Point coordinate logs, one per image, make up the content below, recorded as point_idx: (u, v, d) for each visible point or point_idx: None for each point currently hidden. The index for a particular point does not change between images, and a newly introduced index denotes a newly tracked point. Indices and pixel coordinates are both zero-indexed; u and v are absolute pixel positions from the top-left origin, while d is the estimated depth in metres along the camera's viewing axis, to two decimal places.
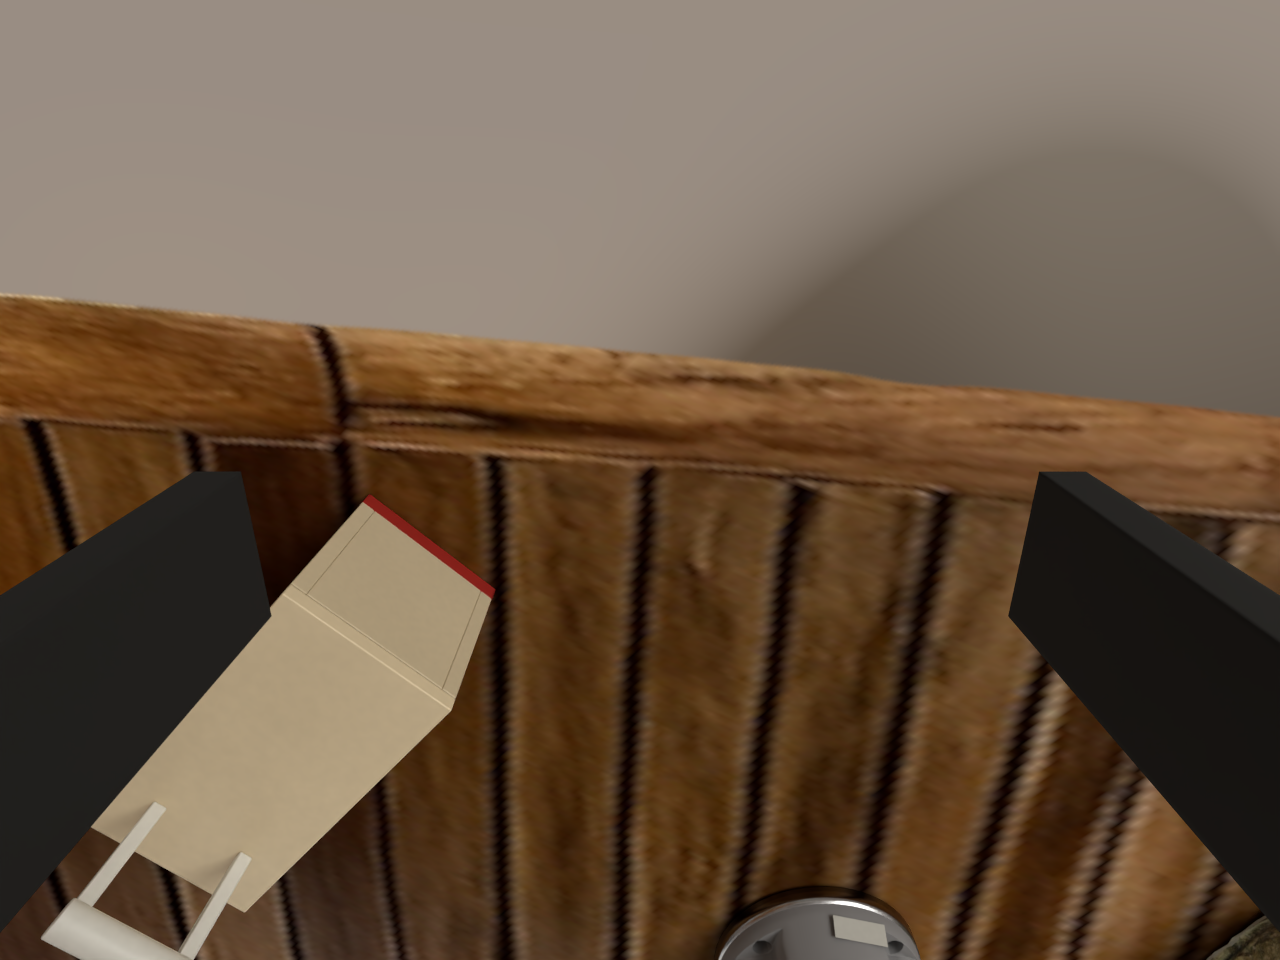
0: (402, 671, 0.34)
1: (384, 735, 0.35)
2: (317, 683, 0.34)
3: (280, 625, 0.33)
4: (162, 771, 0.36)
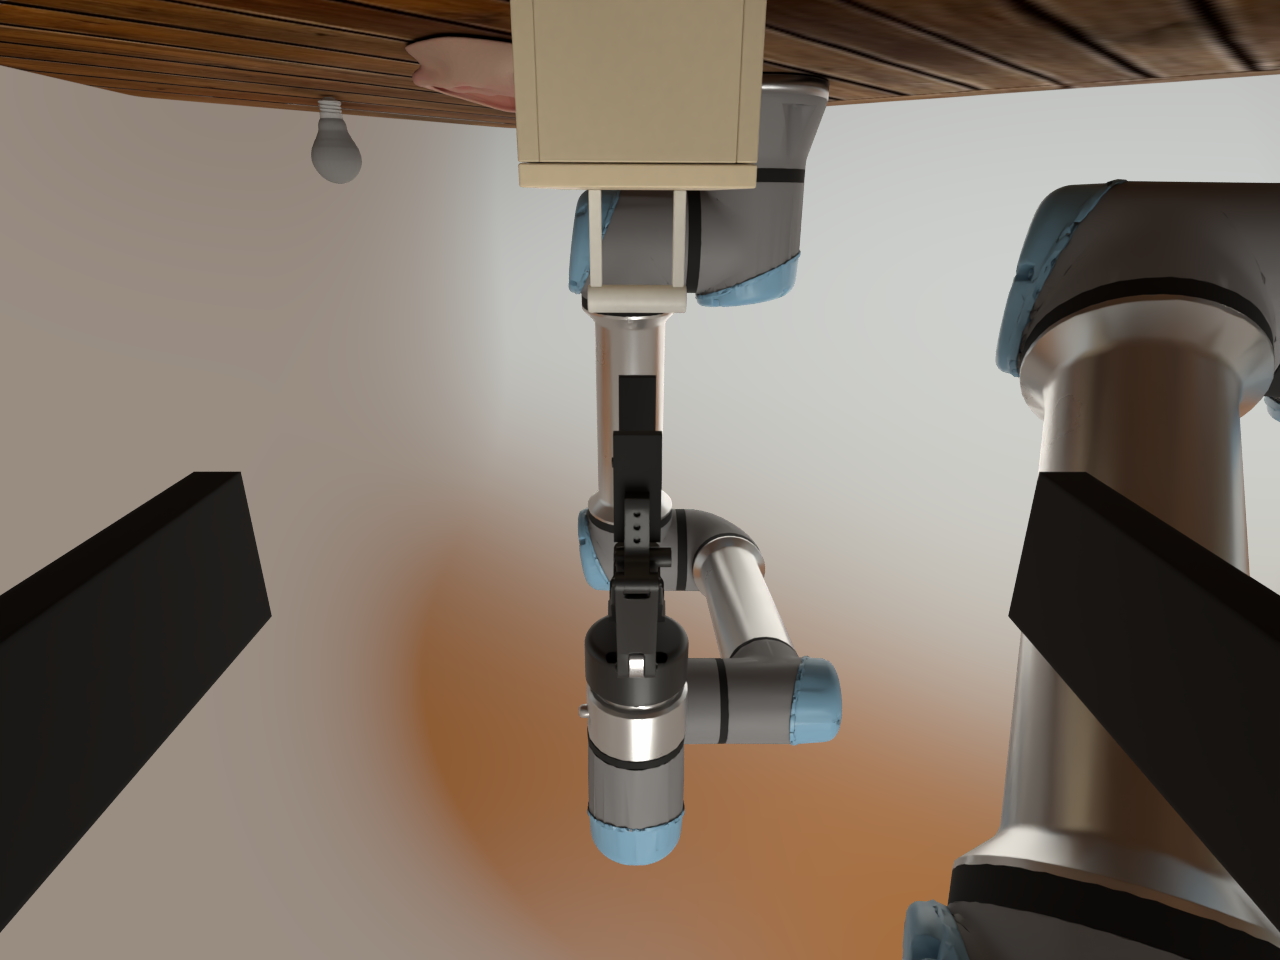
0: (681, 179, 0.29)
1: None
2: None
3: None
4: None
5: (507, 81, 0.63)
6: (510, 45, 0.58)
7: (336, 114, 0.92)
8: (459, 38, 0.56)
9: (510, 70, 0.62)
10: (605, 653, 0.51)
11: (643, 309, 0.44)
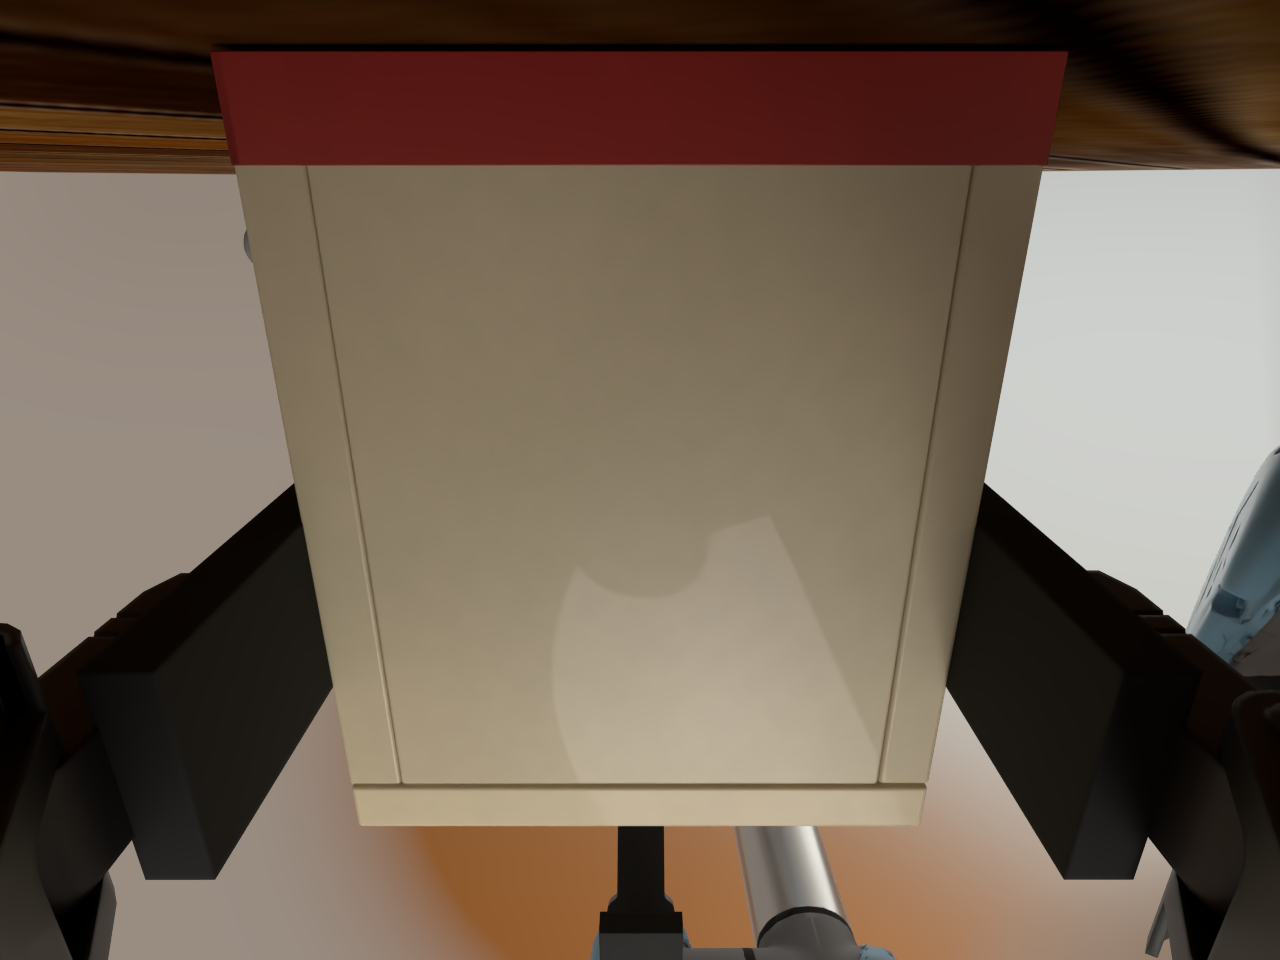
0: (744, 812, 0.12)
1: None
2: None
3: None
4: None
5: None
6: None
7: None
8: None
9: None
10: None
11: None
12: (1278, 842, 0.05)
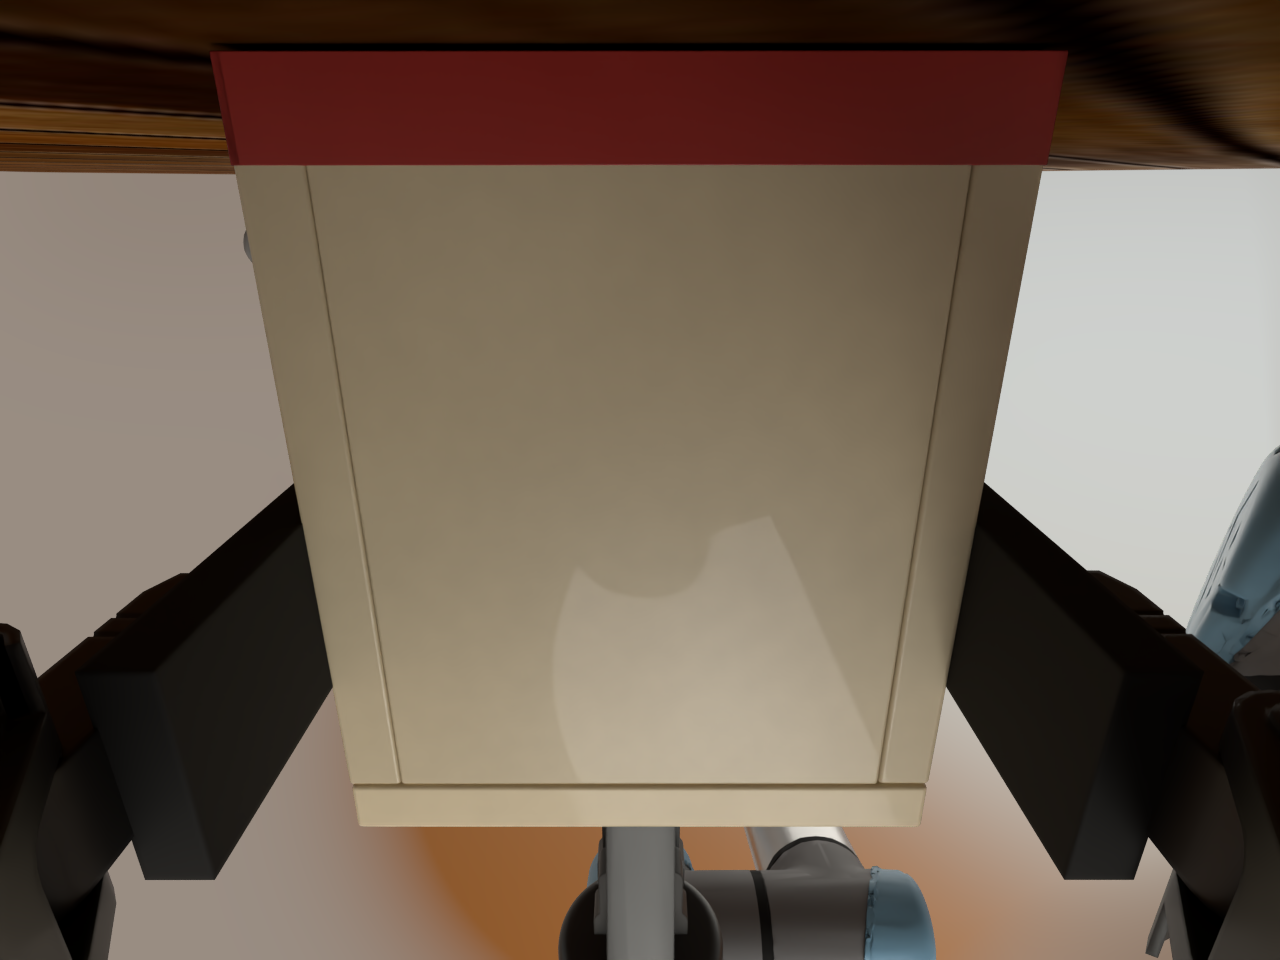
0: (744, 812, 0.12)
1: None
2: None
3: None
4: None
5: None
6: None
7: None
8: None
9: None
10: None
11: None
12: (1278, 842, 0.05)
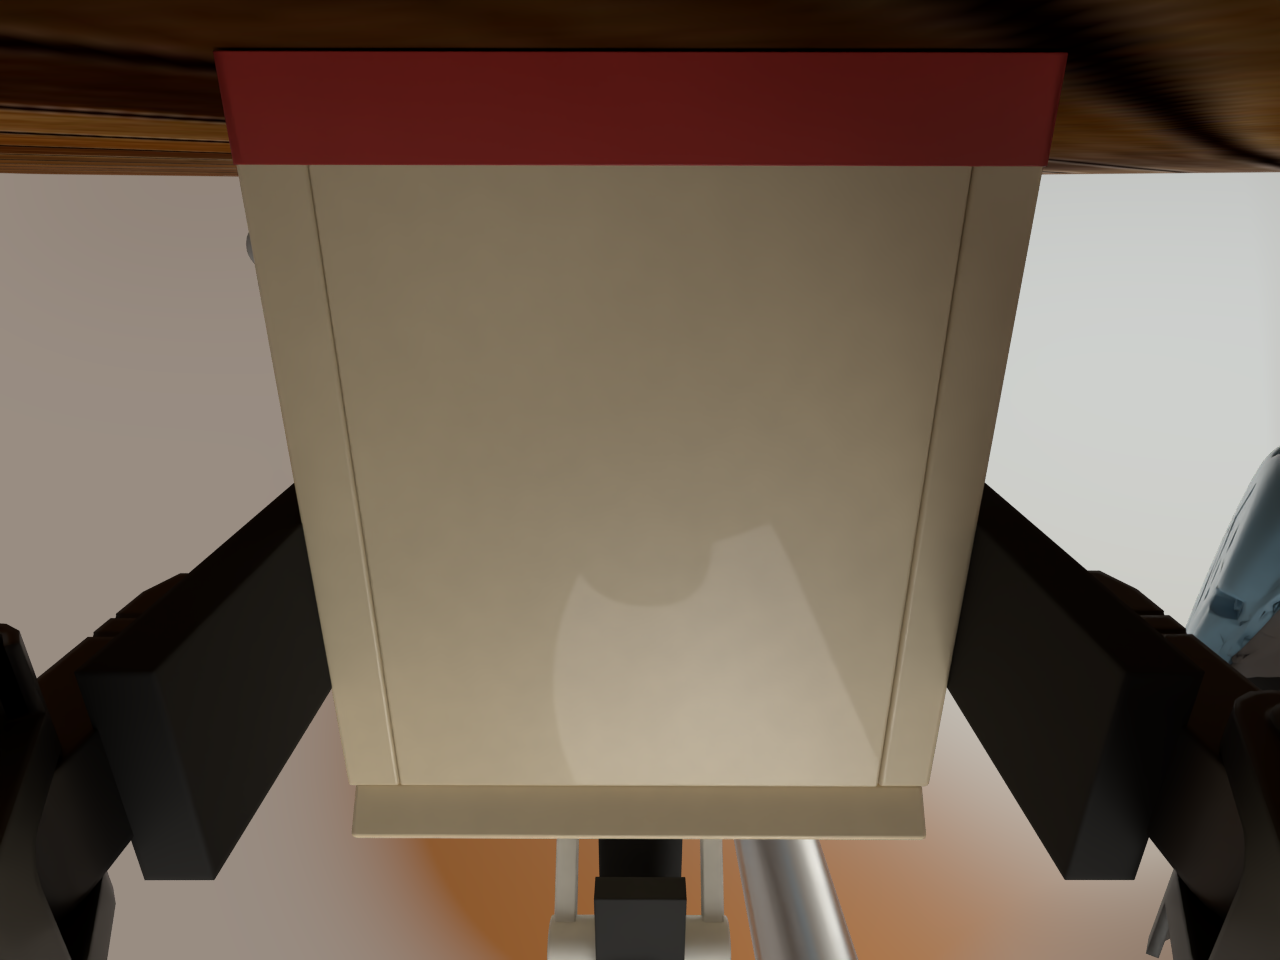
0: (744, 818, 0.12)
1: None
2: None
3: None
4: None
5: None
6: None
7: None
8: None
9: None
10: None
11: None
12: None
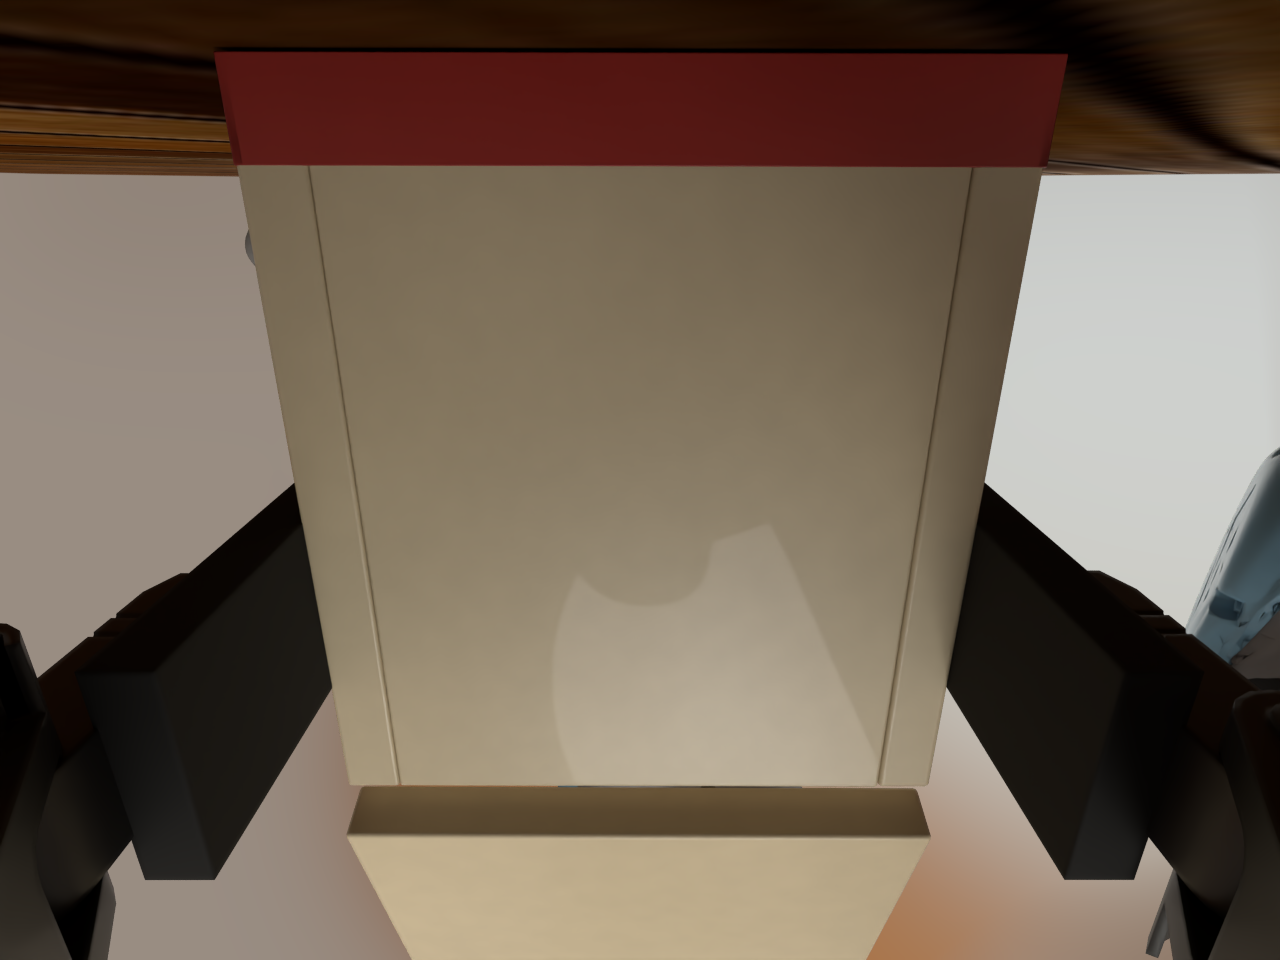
0: (744, 818, 0.12)
1: (809, 921, 0.14)
2: (592, 913, 0.13)
3: (415, 876, 0.12)
4: None
5: None
6: None
7: None
8: None
9: None
10: None
11: None
12: (1279, 842, 0.05)
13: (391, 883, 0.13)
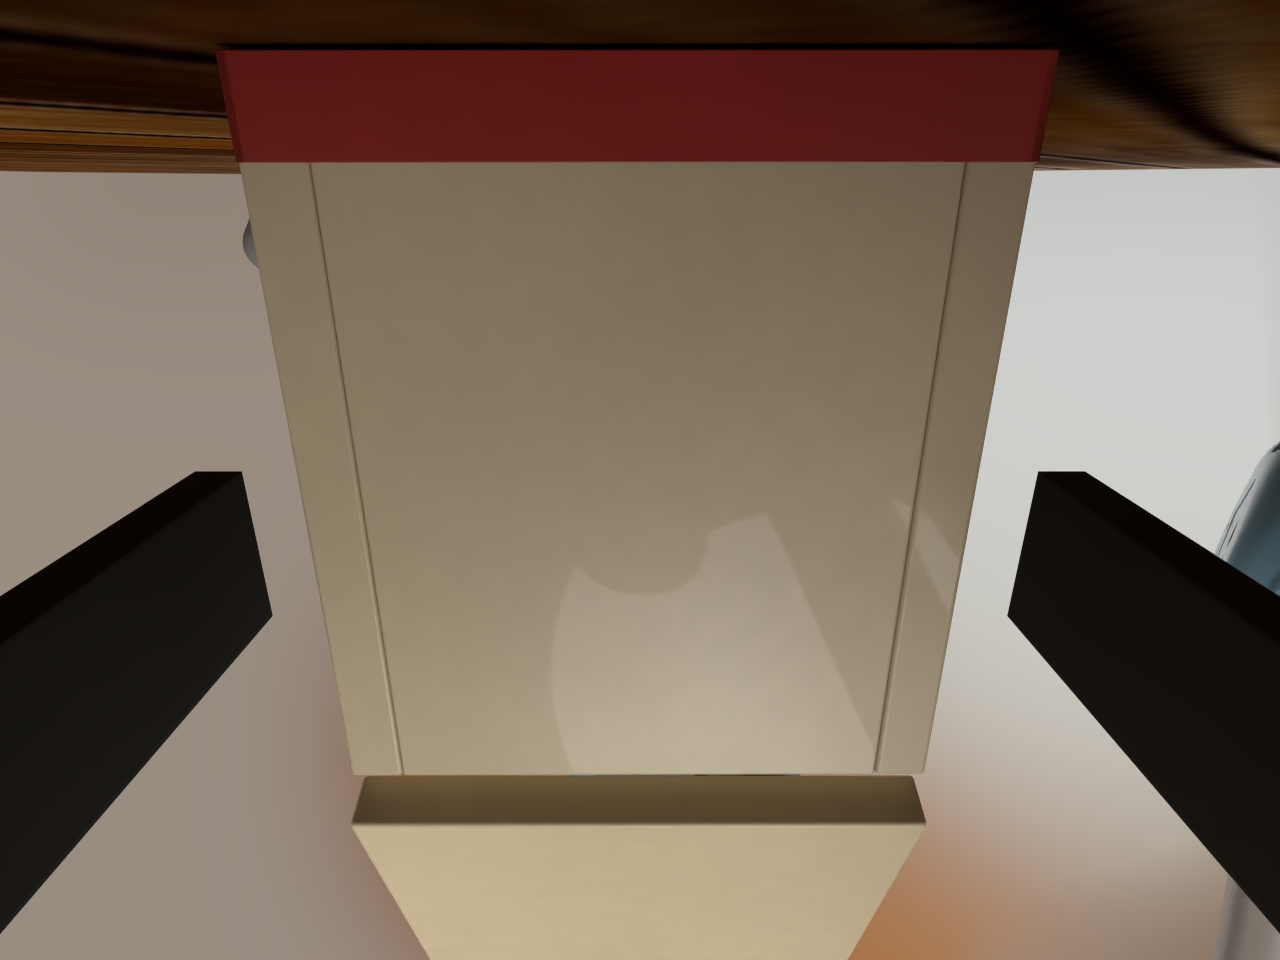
0: (743, 806, 0.12)
1: (806, 901, 0.14)
2: (594, 895, 0.14)
3: (419, 862, 0.13)
4: None
5: None
6: None
7: None
8: None
9: None
10: None
11: None
12: None
13: (396, 868, 0.13)
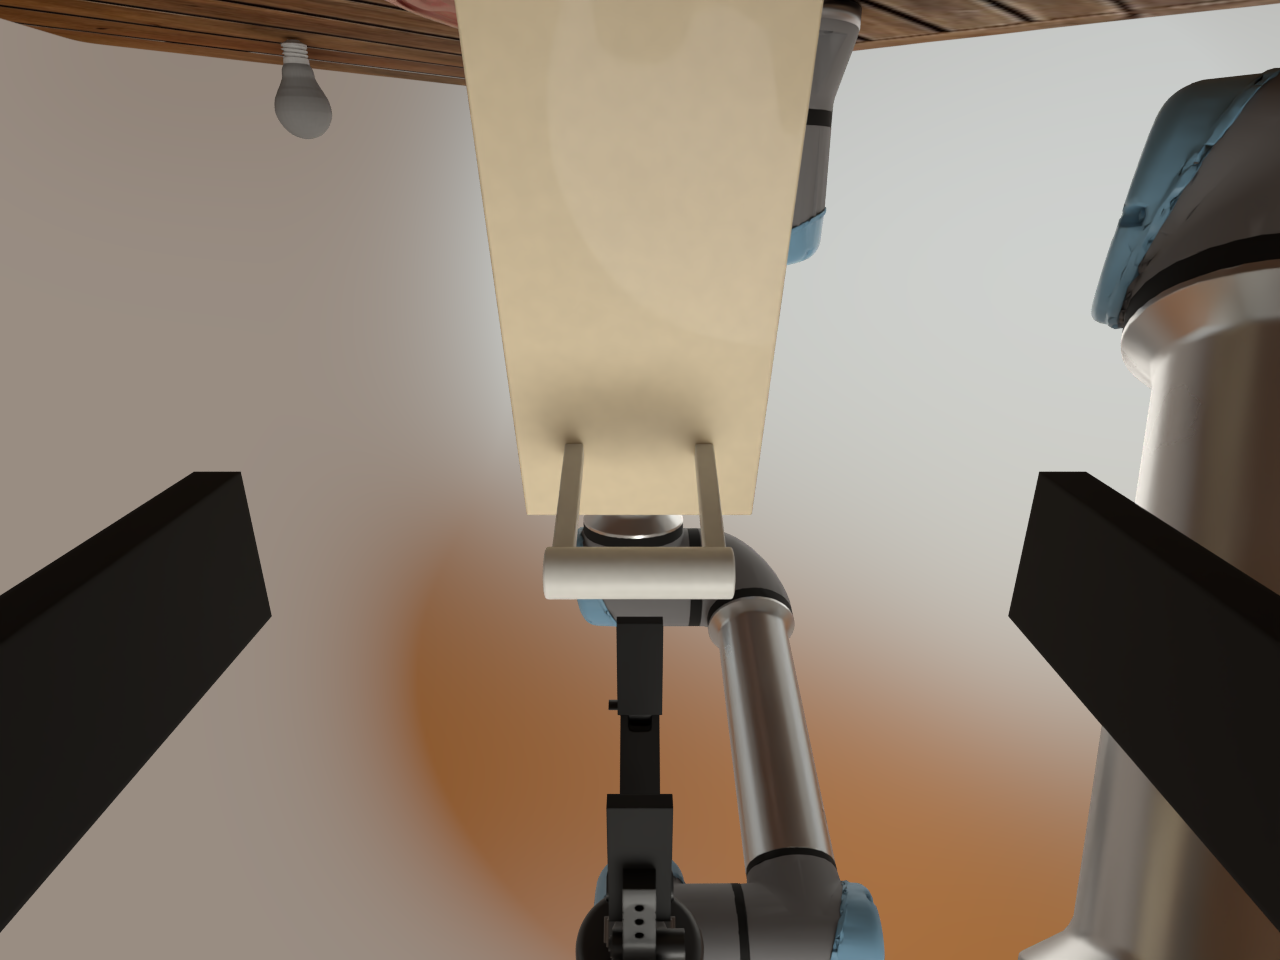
0: None
1: (753, 132, 0.20)
2: (608, 118, 0.20)
3: (493, 55, 0.19)
4: (543, 402, 0.26)
5: None
6: None
7: (301, 59, 0.82)
8: None
9: None
10: None
11: (651, 576, 0.23)
12: None
13: (478, 66, 0.19)
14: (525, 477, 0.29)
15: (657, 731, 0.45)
